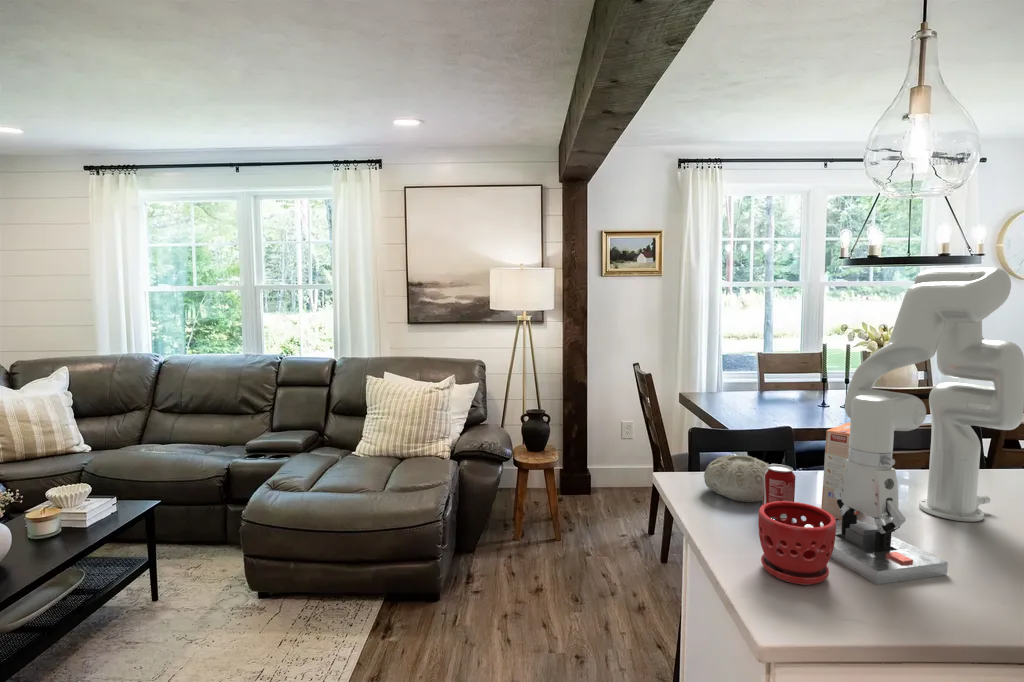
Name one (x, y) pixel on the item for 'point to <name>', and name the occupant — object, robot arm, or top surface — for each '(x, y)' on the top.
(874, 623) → the top surface
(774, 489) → the soda can
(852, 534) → the plug
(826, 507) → the cracker box
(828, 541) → the plant pot
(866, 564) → the socket
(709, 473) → the decorative shell
